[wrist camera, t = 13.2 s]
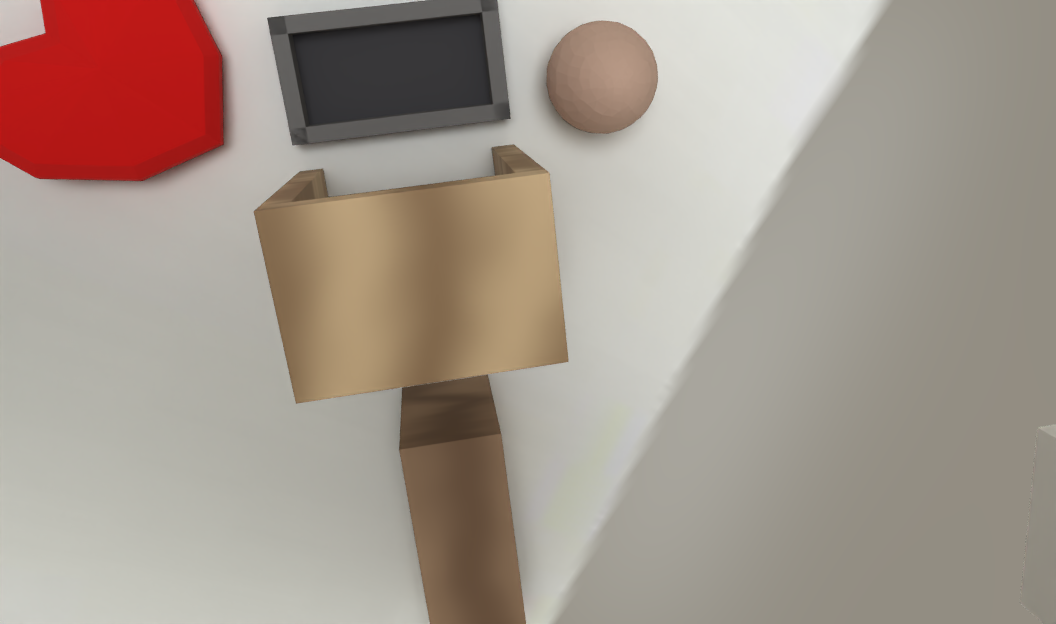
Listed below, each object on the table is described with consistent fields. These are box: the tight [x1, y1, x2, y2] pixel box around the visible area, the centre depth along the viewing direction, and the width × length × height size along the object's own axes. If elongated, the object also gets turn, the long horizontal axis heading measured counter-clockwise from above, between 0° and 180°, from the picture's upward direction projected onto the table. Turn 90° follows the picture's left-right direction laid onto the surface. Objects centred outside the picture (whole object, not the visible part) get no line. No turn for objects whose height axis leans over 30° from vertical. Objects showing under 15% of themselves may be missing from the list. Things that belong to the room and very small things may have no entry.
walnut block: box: [399, 375, 526, 624], centre depth 45 cm, size 5×15×8 cm, turn 6°
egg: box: [547, 21, 658, 134], centre depth 39 cm, size 5×5×7 cm
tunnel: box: [254, 145, 568, 403], centre depth 37 cm, size 11×8×12 cm
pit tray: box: [267, 0, 511, 145], centre depth 40 cm, size 11×6×2 cm, turn 96°
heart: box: [0, 0, 224, 181], centre depth 37 cm, size 12×4×10 cm
